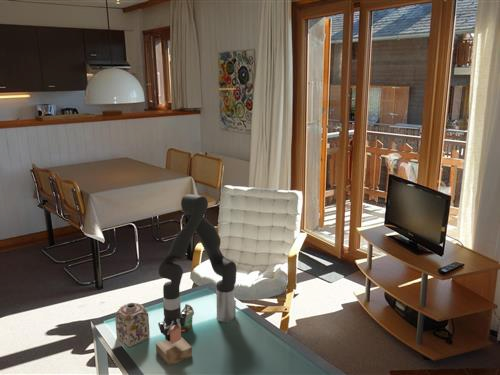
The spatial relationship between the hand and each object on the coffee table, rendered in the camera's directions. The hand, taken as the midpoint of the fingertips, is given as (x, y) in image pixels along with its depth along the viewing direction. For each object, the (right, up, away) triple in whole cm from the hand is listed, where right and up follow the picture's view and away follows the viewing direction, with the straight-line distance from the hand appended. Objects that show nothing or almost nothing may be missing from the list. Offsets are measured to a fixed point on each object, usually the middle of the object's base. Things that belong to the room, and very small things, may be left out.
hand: (173, 337), depth 203 cm
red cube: (0, -1, 0) cm, 1 cm away
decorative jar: (-22, -5, +14) cm, 26 cm away
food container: (+4, -3, +22) cm, 23 cm away
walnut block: (0, -9, +3) cm, 9 cm away
